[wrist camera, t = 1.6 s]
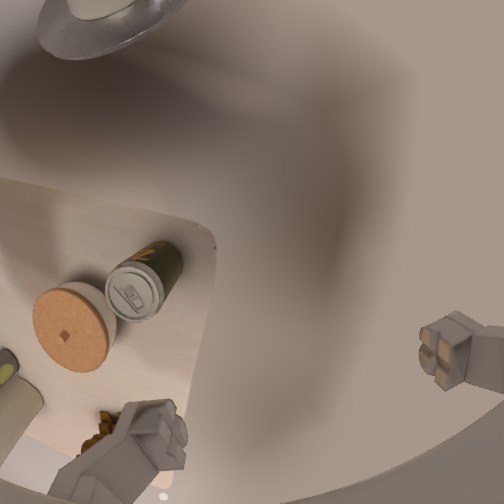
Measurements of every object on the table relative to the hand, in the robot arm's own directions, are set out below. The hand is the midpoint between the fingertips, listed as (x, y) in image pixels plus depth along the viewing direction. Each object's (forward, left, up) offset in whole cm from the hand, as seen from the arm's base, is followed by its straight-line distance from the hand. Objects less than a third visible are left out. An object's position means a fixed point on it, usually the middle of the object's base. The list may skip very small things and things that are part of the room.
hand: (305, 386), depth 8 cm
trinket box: (+14, -19, -27) cm, 36 cm away
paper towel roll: (+36, -34, -27) cm, 56 cm away
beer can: (+5, -10, -27) cm, 29 cm away
